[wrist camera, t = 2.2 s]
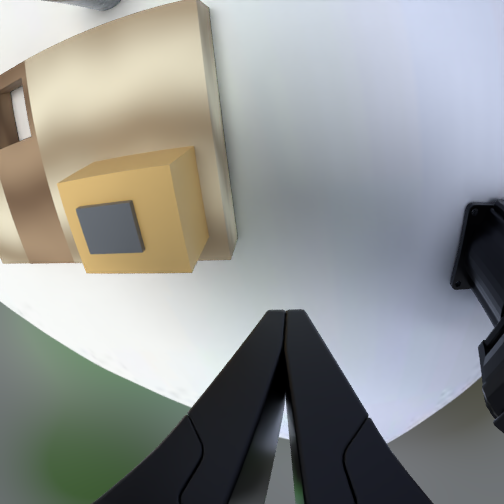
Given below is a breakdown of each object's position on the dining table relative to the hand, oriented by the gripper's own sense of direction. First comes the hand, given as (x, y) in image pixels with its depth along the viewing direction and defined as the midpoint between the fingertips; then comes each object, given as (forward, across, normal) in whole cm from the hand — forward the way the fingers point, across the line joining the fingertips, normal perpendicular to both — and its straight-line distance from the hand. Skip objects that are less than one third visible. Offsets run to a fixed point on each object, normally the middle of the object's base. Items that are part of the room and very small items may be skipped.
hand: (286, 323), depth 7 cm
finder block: (+10, +8, 0) cm, 12 cm away
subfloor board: (+12, +14, -3) cm, 18 cm away
